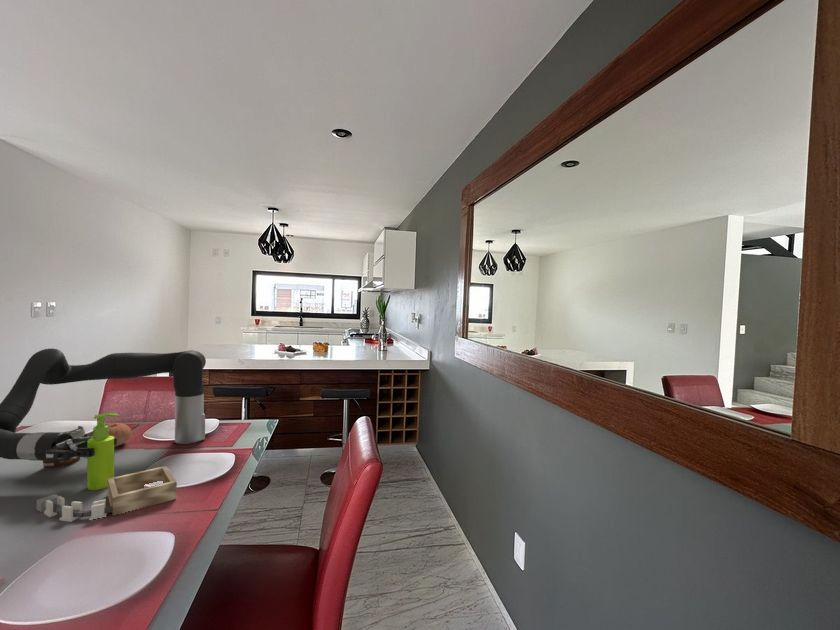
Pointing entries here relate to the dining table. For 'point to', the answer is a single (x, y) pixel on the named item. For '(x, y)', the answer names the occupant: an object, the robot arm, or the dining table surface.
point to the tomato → (119, 432)
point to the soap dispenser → (100, 454)
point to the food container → (56, 464)
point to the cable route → (71, 508)
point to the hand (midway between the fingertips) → (105, 446)
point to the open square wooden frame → (141, 490)
